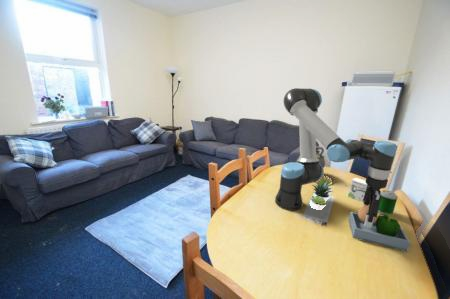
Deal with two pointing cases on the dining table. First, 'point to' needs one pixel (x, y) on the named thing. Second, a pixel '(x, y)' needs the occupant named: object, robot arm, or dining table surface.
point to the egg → (364, 213)
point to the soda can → (387, 202)
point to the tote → (377, 234)
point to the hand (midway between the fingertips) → (365, 222)
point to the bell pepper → (387, 225)
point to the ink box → (357, 189)
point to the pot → (318, 156)
